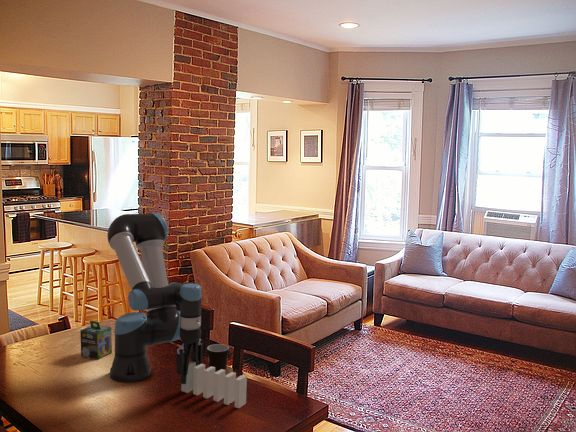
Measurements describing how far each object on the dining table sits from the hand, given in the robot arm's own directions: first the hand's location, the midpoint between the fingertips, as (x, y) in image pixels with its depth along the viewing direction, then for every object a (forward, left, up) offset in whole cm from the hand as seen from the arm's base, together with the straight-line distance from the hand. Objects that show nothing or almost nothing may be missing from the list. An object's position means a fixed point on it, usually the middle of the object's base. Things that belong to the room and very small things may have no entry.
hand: (189, 388), depth 194 cm
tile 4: (+13, 0, 0) cm, 13 cm away
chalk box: (-55, +5, -1) cm, 55 cm away
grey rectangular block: (+22, 0, 0) cm, 22 cm away
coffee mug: (-2, +20, 0) cm, 20 cm away
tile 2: (+4, 0, 0) cm, 4 cm away
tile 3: (+9, 0, 0) cm, 9 cm away
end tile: (0, 0, 0) cm, 0 cm away
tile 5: (+18, 0, 0) cm, 18 cm away
